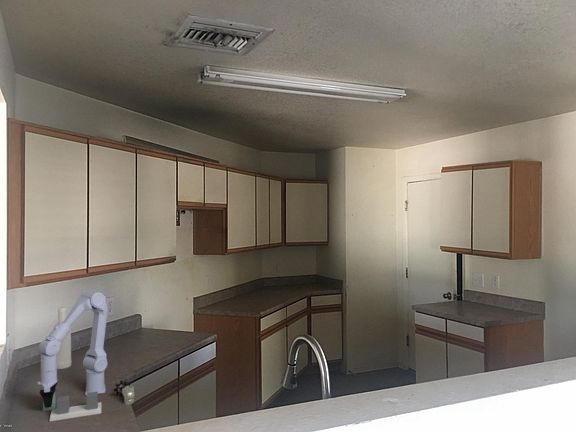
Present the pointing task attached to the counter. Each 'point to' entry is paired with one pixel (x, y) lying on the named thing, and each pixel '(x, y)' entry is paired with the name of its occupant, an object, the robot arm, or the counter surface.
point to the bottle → (64, 344)
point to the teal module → (51, 405)
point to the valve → (125, 392)
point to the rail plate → (76, 408)
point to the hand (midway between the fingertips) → (49, 403)
